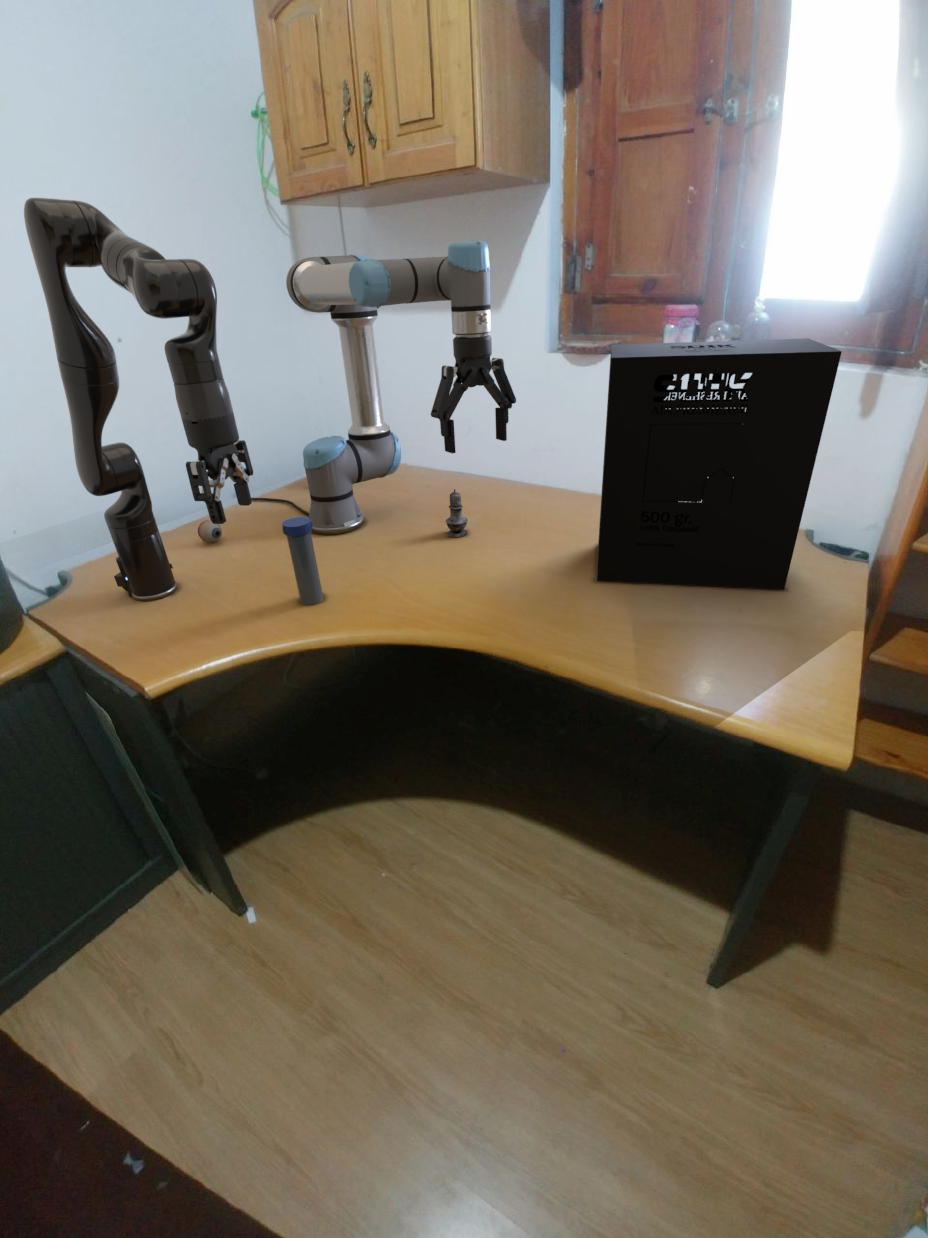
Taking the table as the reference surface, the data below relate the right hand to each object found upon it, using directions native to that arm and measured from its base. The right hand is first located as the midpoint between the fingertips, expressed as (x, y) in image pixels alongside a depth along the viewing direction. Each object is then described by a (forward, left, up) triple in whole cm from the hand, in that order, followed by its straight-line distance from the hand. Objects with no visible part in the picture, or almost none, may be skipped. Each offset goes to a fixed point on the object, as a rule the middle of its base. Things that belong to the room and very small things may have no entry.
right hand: (476, 445), depth 127 cm
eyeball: (-61, -44, -28) cm, 81 cm away
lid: (-12, -38, -10) cm, 41 cm away
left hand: (+3, -53, -1) cm, 53 cm away
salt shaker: (-20, +8, -28) cm, 35 cm away
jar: (-12, -38, -28) cm, 48 cm away
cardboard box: (+31, +34, -28) cm, 54 cm away
